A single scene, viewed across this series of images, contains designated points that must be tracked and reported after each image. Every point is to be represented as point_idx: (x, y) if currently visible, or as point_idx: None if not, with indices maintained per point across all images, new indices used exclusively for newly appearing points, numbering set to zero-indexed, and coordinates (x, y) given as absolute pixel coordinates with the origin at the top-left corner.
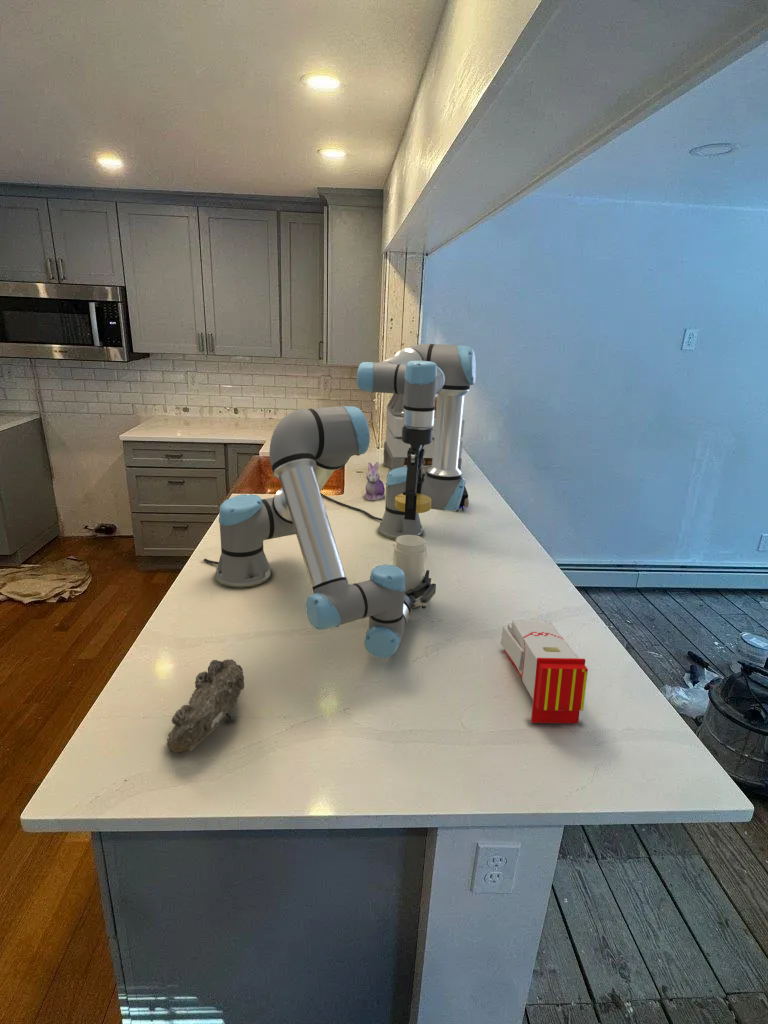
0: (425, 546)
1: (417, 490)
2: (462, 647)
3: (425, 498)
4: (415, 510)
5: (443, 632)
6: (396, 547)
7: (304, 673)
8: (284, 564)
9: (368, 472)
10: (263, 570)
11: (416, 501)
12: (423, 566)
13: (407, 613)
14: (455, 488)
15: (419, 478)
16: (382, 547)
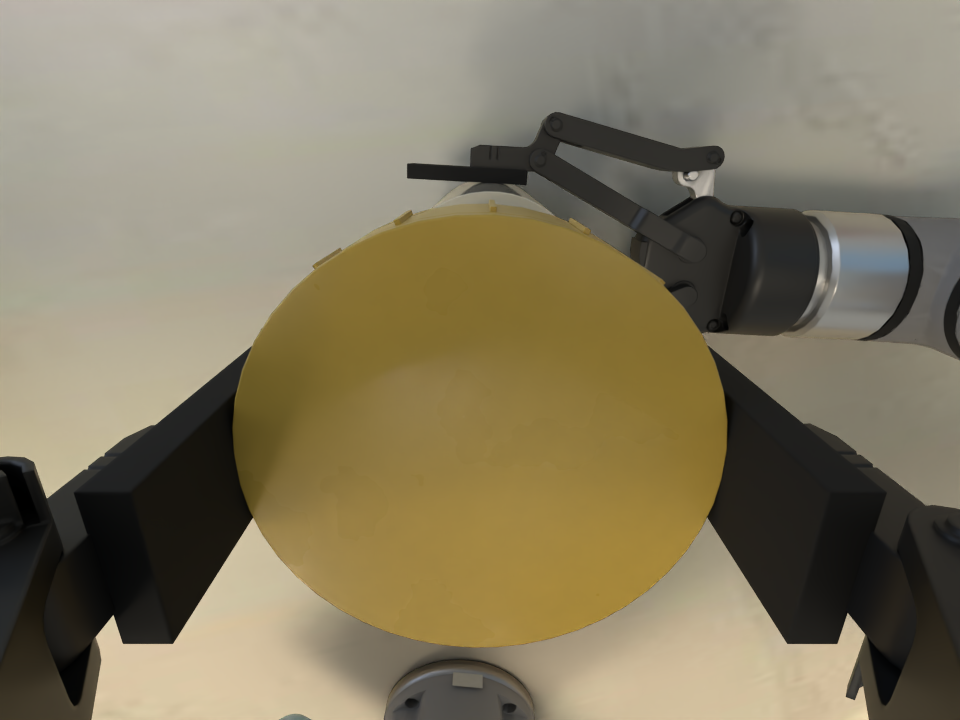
0: (450, 200)
1: (212, 466)
2: None
3: (417, 312)
4: (746, 380)
5: (708, 65)
6: None
7: (944, 455)
8: (350, 648)
9: None
10: (478, 698)
11: (779, 430)
12: (520, 192)
13: (851, 217)
14: None
15: (44, 600)
16: (63, 400)
